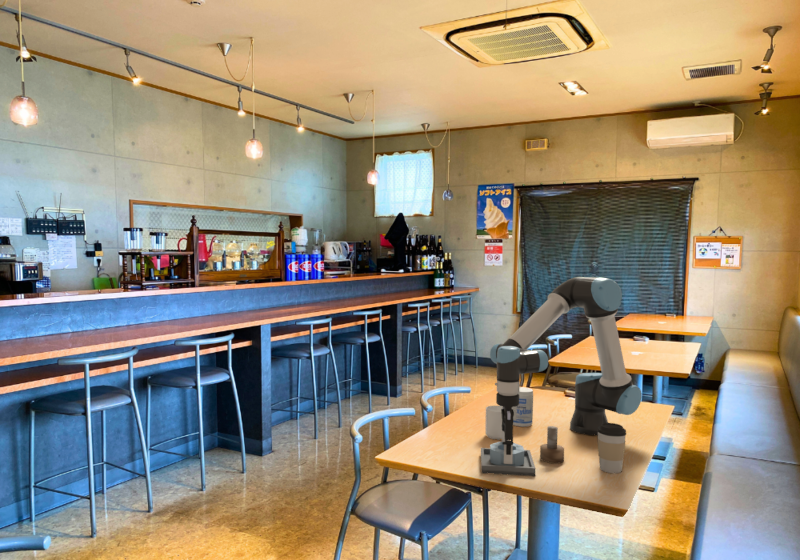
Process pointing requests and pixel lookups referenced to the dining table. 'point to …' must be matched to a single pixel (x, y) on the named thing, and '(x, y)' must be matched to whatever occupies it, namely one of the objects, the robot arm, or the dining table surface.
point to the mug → (494, 422)
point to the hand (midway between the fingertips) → (506, 456)
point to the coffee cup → (611, 447)
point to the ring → (498, 454)
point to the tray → (524, 469)
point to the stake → (552, 447)
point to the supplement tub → (524, 408)
